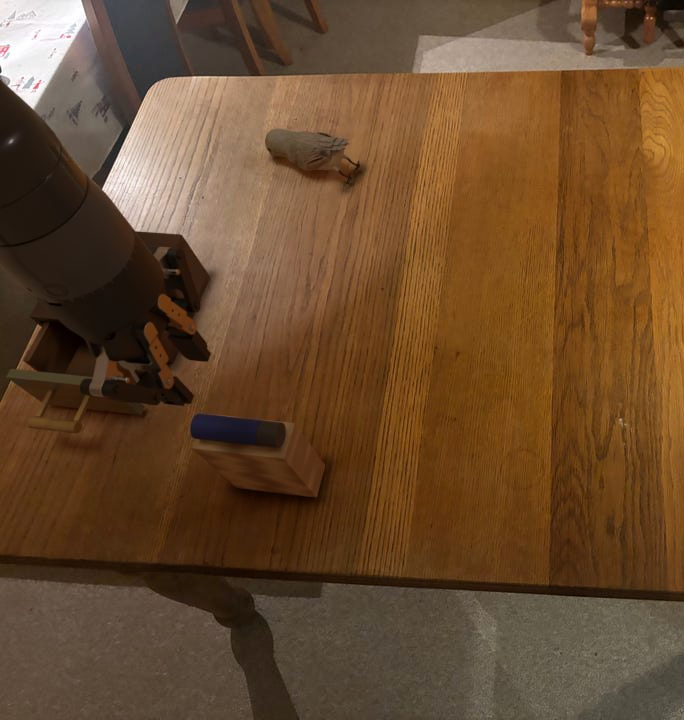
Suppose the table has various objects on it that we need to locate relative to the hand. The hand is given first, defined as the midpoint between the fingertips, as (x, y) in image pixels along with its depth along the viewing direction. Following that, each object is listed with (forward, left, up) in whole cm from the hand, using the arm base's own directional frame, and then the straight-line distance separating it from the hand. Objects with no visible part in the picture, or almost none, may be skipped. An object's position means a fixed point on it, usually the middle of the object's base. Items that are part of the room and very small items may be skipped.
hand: (190, 378), depth 57 cm
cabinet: (-7, +33, -24) cm, 42 cm away
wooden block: (0, 0, -24) cm, 24 cm away
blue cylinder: (0, 0, -12) cm, 12 cm away
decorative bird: (+25, +45, -24) cm, 57 cm away
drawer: (-14, +24, -23) cm, 37 cm away
